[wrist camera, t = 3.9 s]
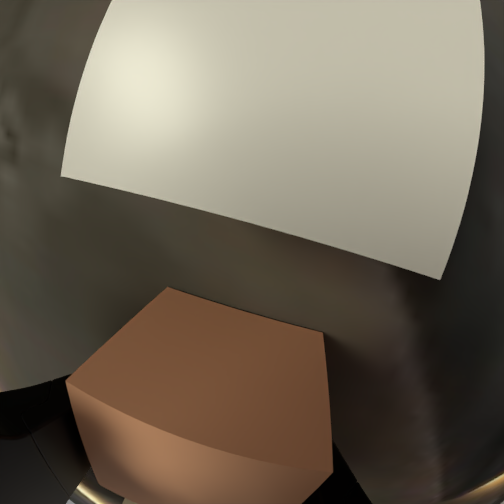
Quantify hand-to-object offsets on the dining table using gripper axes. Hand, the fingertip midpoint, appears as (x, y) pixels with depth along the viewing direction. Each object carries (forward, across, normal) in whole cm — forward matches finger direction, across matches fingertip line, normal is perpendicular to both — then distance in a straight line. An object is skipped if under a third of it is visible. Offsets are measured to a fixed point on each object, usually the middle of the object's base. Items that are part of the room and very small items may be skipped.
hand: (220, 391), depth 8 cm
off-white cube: (+1, 0, -9) cm, 9 cm away
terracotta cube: (+1, 0, 0) cm, 1 cm away
